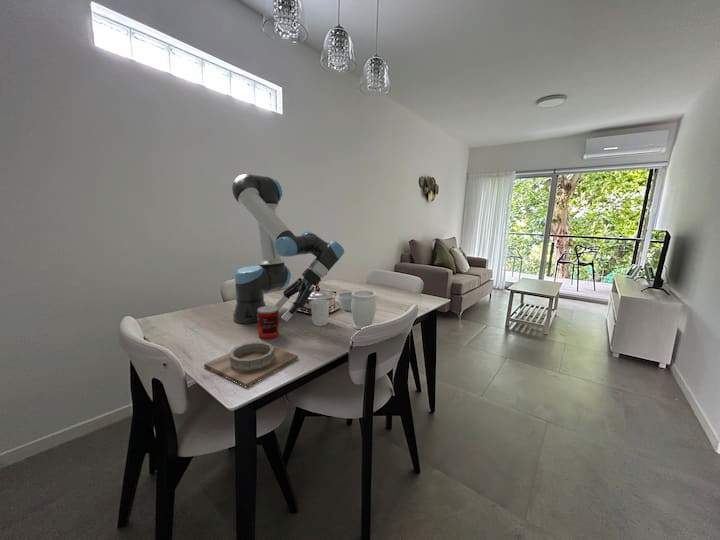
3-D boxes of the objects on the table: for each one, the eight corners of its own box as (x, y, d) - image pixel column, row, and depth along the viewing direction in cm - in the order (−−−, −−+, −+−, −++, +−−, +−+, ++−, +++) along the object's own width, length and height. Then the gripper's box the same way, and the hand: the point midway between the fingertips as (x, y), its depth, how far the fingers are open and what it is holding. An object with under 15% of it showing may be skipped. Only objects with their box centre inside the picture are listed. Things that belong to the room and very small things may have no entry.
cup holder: (204, 367, 90) (203, 354, 89) (257, 344, 107) (256, 333, 106) (246, 388, 80) (245, 373, 79) (297, 358, 96) (297, 347, 96)
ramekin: (363, 312, 145) (363, 299, 144) (337, 312, 145) (337, 298, 144) (362, 304, 158) (363, 292, 157) (338, 304, 158) (338, 291, 157)
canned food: (269, 330, 120) (268, 304, 118) (283, 334, 116) (282, 307, 114) (254, 336, 114) (252, 309, 112) (268, 341, 110) (267, 313, 108)
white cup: (330, 320, 133) (330, 299, 131) (327, 326, 125) (327, 304, 123) (313, 319, 134) (313, 298, 132) (309, 325, 126) (308, 303, 124)
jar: (363, 320, 133) (364, 289, 131) (380, 327, 126) (381, 293, 123) (345, 326, 126) (346, 292, 123) (362, 333, 119) (363, 298, 116)
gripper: (333, 285, 110) (295, 330, 105) (310, 273, 131) (278, 310, 127) (319, 272, 106) (280, 318, 102) (298, 262, 127) (265, 300, 123)
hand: (279, 314), depth 114 cm, fingers open, 13 cm apart
